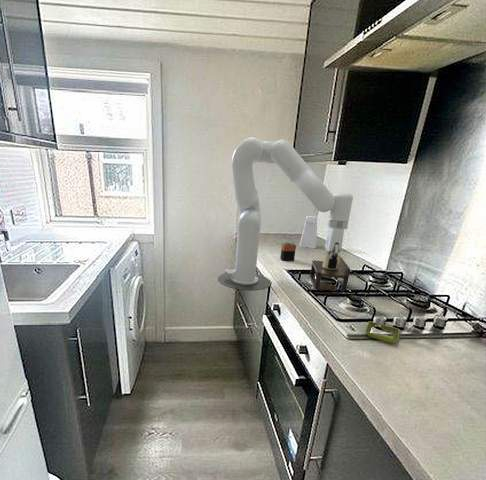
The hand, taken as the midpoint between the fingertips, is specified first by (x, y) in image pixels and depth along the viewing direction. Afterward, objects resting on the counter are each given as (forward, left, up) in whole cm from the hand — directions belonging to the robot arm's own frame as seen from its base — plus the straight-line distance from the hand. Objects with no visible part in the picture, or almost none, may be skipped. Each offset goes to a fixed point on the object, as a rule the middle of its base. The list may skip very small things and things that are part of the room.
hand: (330, 265), depth 130 cm
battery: (-16, +37, -9) cm, 41 cm away
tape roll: (0, 0, -1) cm, 1 cm away
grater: (-1, +80, -9) cm, 81 cm away
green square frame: (+10, -42, -9) cm, 44 cm away
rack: (0, +1, -9) cm, 9 cm away
